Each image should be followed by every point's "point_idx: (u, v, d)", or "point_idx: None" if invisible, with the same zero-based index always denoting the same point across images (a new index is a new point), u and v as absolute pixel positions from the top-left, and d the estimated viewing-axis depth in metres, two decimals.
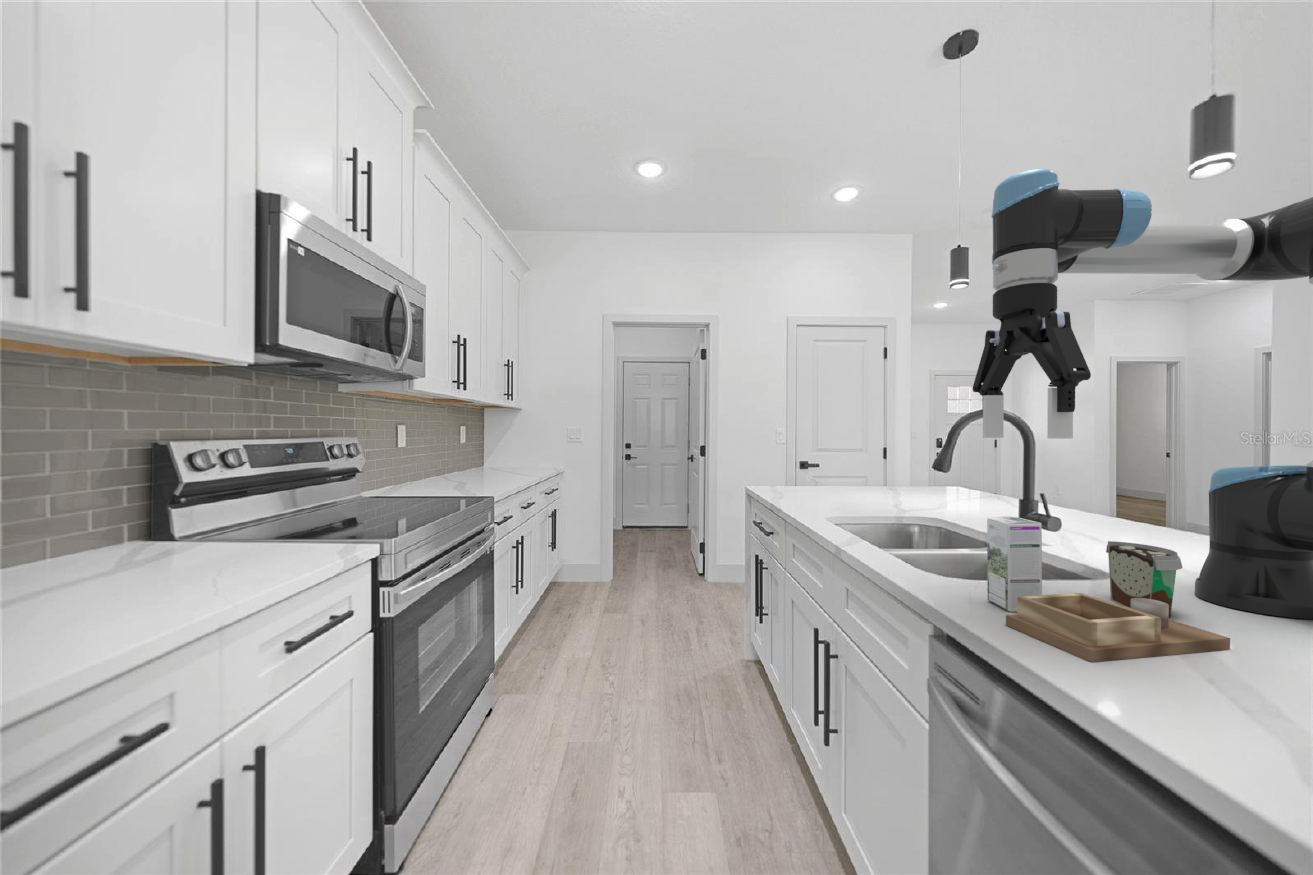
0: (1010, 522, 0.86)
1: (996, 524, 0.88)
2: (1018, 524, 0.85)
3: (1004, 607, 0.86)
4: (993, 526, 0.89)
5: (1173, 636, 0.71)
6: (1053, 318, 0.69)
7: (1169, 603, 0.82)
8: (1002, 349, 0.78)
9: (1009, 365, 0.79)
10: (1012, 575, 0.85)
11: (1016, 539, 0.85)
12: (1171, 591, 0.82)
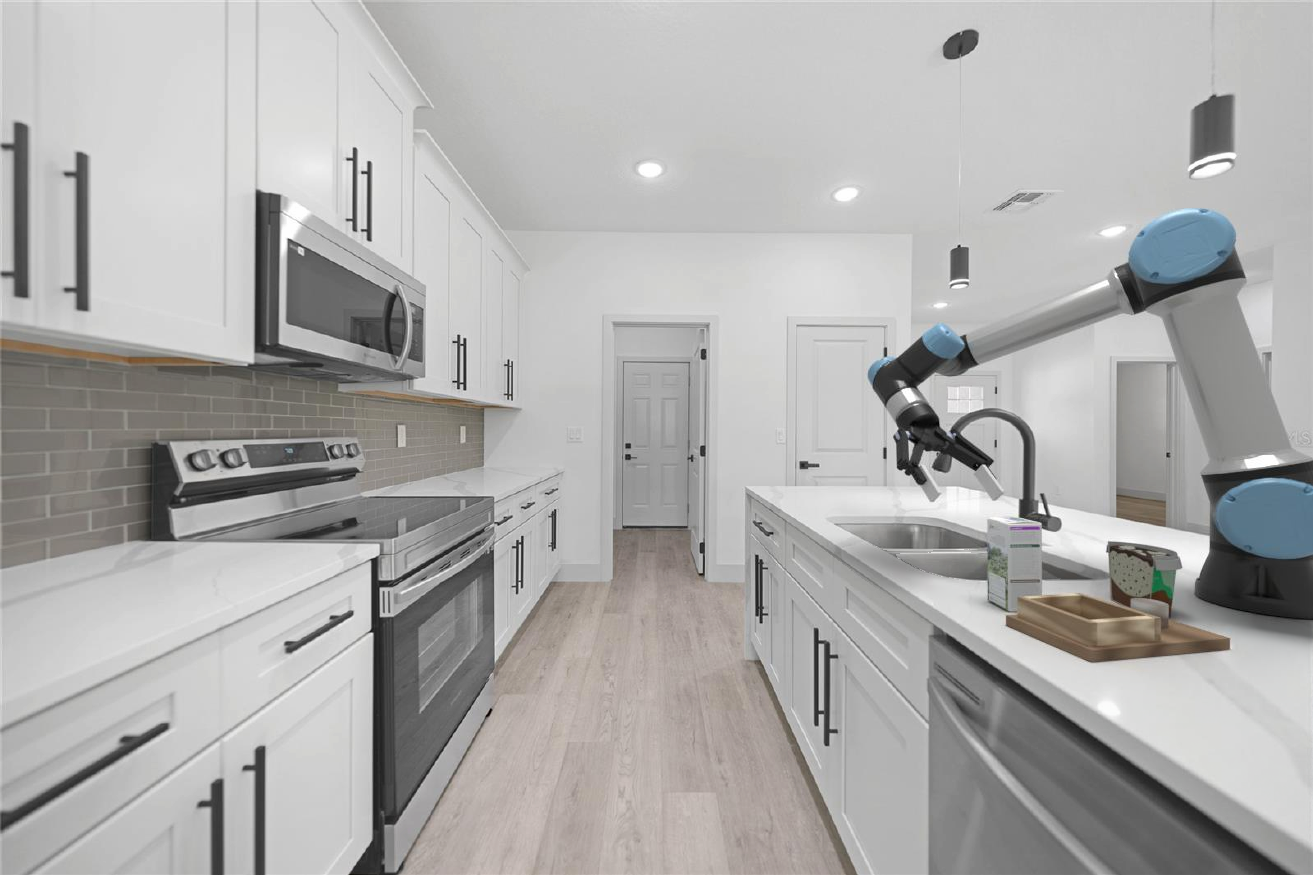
0: (1010, 522, 0.86)
1: (996, 524, 0.88)
2: (1018, 524, 0.85)
3: (1004, 607, 0.86)
4: (993, 526, 0.89)
5: (1173, 636, 0.71)
6: (894, 438, 1.06)
7: (1169, 603, 0.82)
8: None
9: (956, 450, 1.05)
10: (1012, 575, 0.85)
11: (1017, 539, 0.85)
12: (1171, 591, 0.82)
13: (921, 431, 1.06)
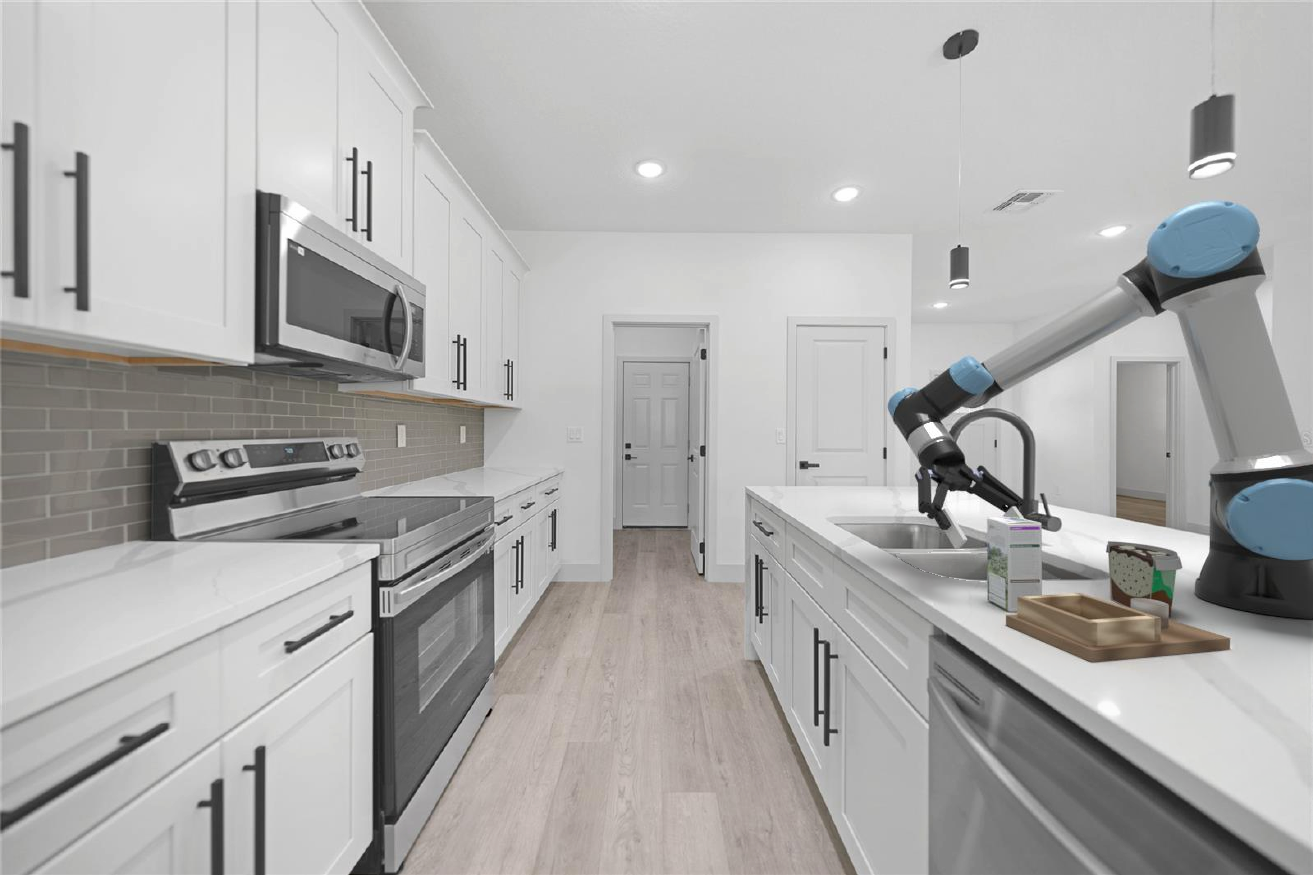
0: (1010, 522, 0.86)
1: (996, 524, 0.88)
2: (1018, 524, 0.85)
3: (1004, 607, 0.86)
4: (993, 526, 0.89)
5: (1173, 636, 0.71)
6: (916, 477, 1.01)
7: (1169, 603, 0.82)
8: None
9: (984, 490, 0.98)
10: (1012, 575, 0.85)
11: (1016, 539, 0.85)
12: (1171, 591, 0.82)
13: (945, 470, 1.00)
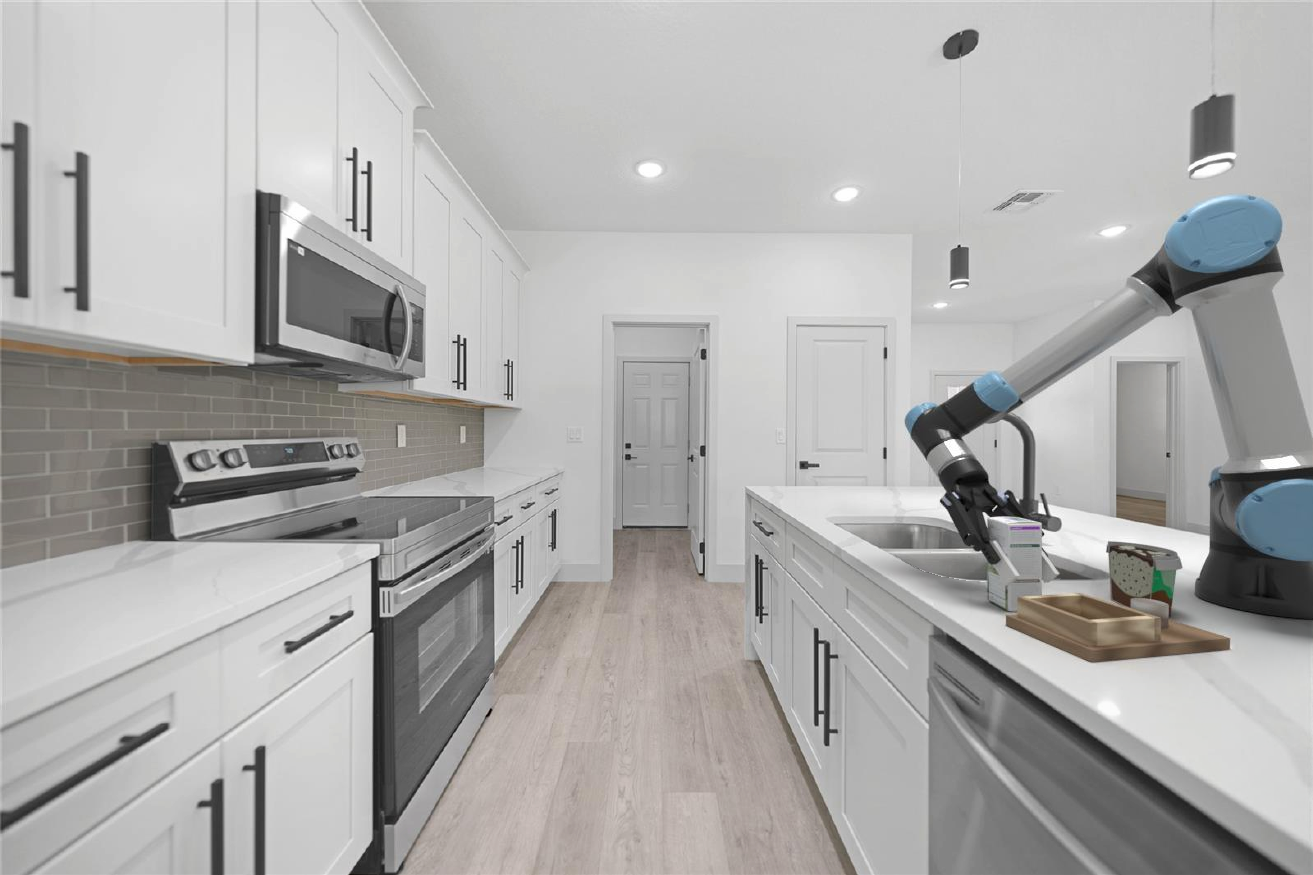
0: (1010, 522, 0.86)
1: (997, 524, 0.88)
2: (1018, 524, 0.85)
3: (1004, 607, 0.86)
4: (993, 526, 0.89)
5: (1173, 636, 0.71)
6: (943, 504, 0.95)
7: (1169, 603, 0.82)
8: None
9: (1004, 515, 0.93)
10: None
11: (1017, 539, 0.85)
12: (1171, 591, 0.82)
13: (966, 488, 0.96)
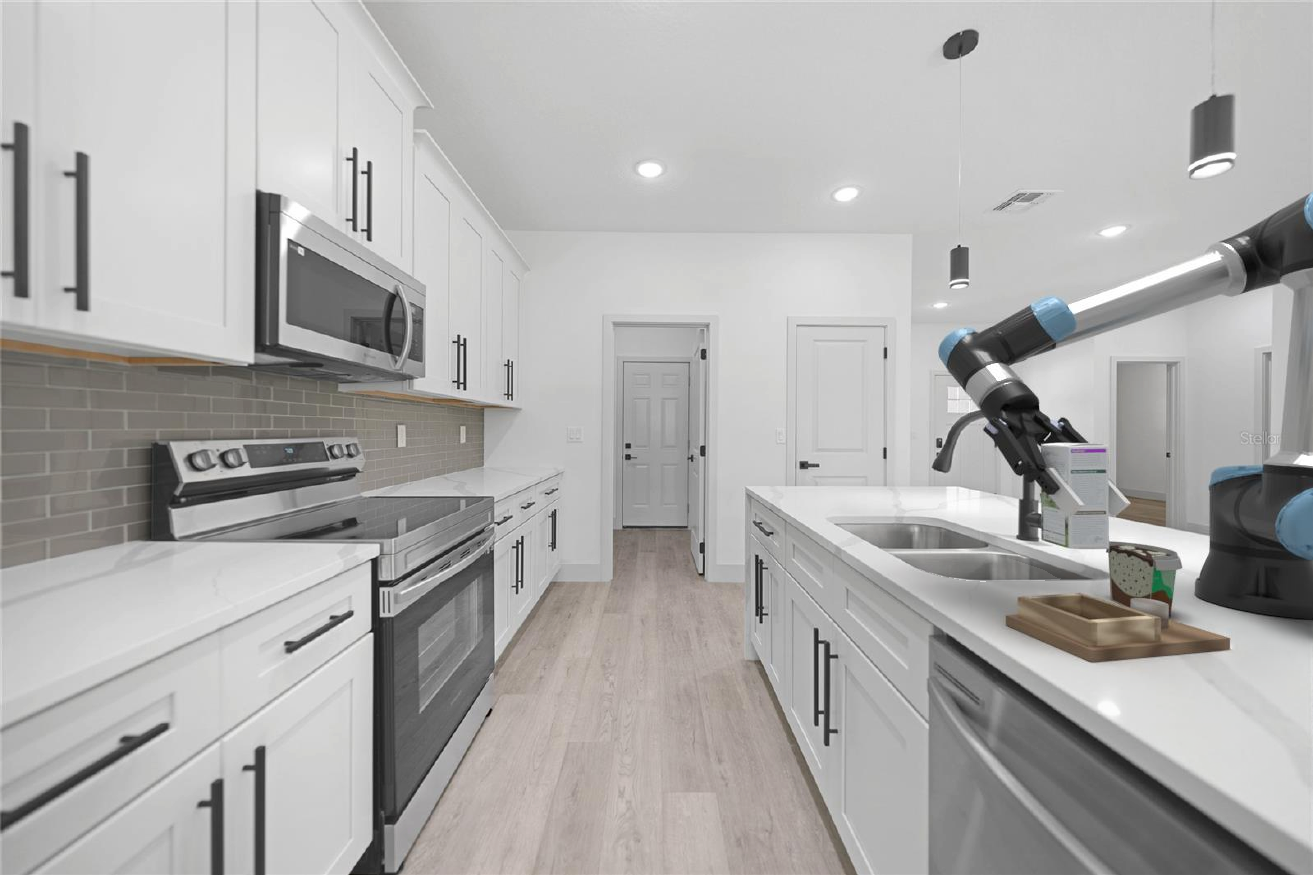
0: (1071, 444, 0.73)
1: (1053, 449, 0.76)
2: (1081, 446, 0.73)
3: (1063, 544, 0.74)
4: (1049, 452, 0.76)
5: (1173, 636, 0.71)
6: (987, 432, 0.83)
7: (1169, 603, 0.82)
8: None
9: None
10: None
11: (1079, 463, 0.73)
12: (1171, 591, 0.82)
13: (1014, 415, 0.83)
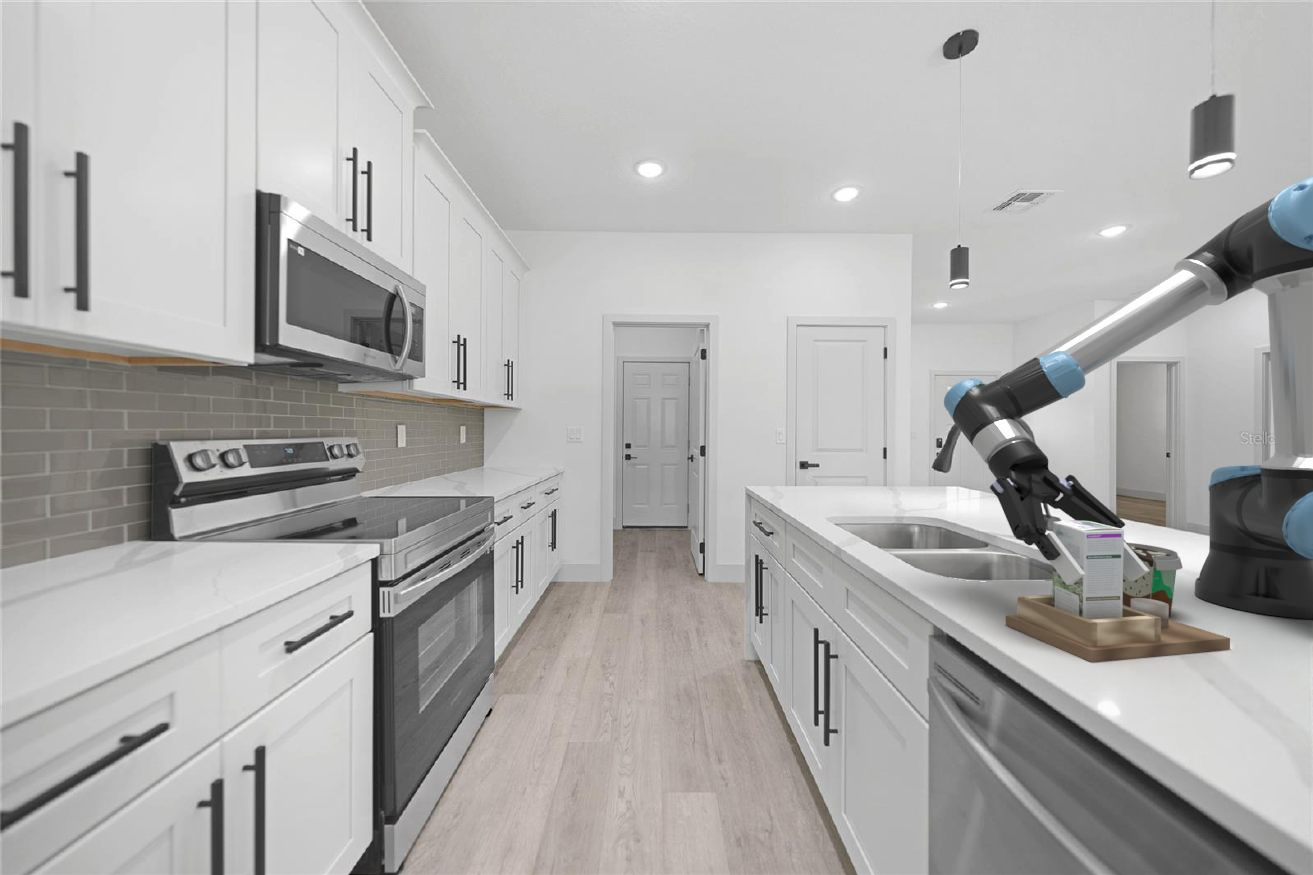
0: (1086, 529, 0.71)
1: (1067, 530, 0.74)
2: (1096, 531, 0.71)
3: None
4: (1062, 532, 0.75)
5: (1173, 636, 0.71)
6: (993, 490, 0.81)
7: (1169, 603, 0.82)
8: None
9: (1073, 505, 0.79)
10: (1088, 591, 0.71)
11: (1094, 549, 0.71)
12: (1171, 591, 0.82)
13: (1025, 476, 0.82)
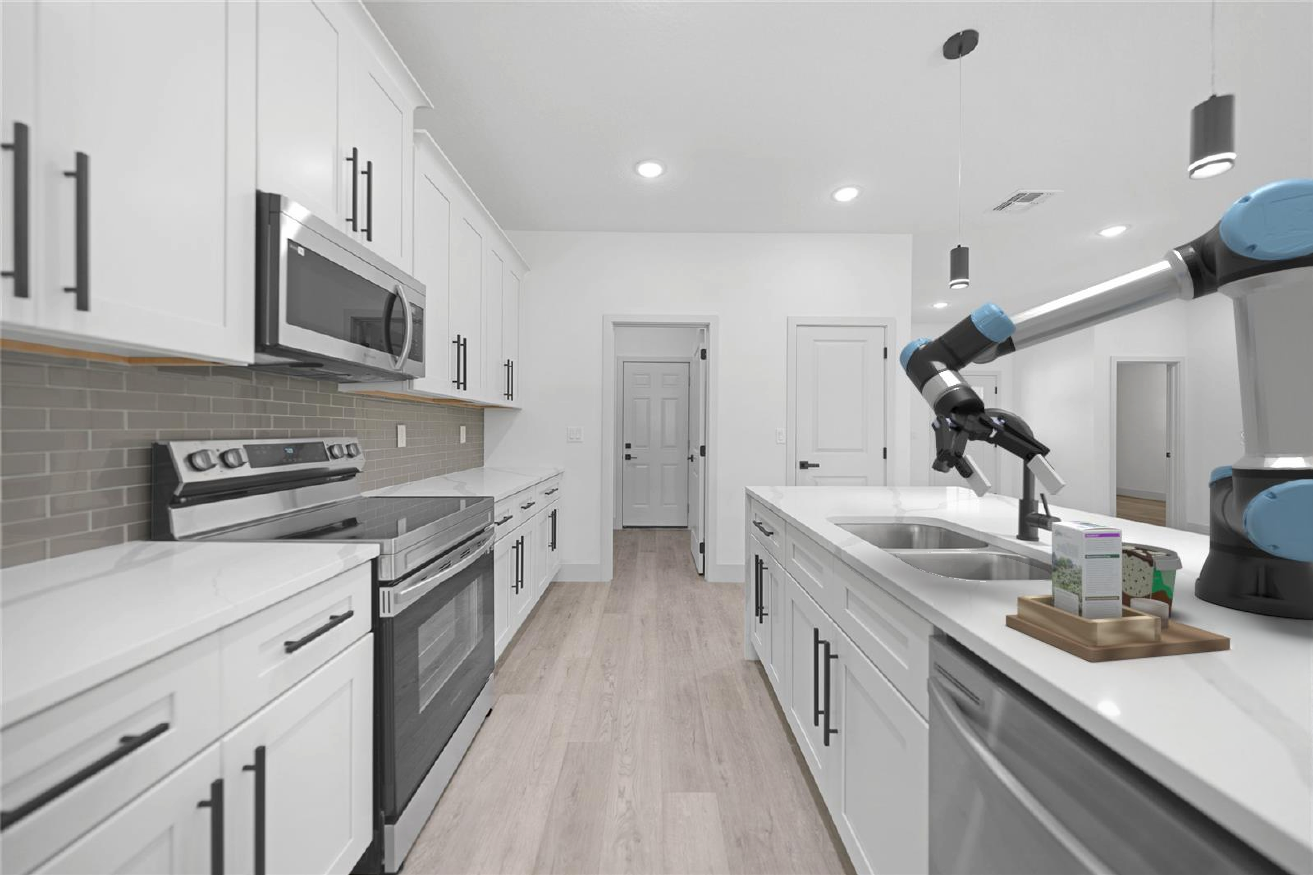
0: (1084, 528, 0.72)
1: (1066, 530, 0.74)
2: (1095, 530, 0.71)
3: None
4: (1061, 533, 0.75)
5: (1173, 636, 0.71)
6: (933, 426, 0.94)
7: (1169, 603, 0.82)
8: None
9: (1006, 439, 0.92)
10: (1087, 591, 0.71)
11: (1093, 548, 0.71)
12: (1171, 591, 0.82)
13: (964, 418, 0.94)
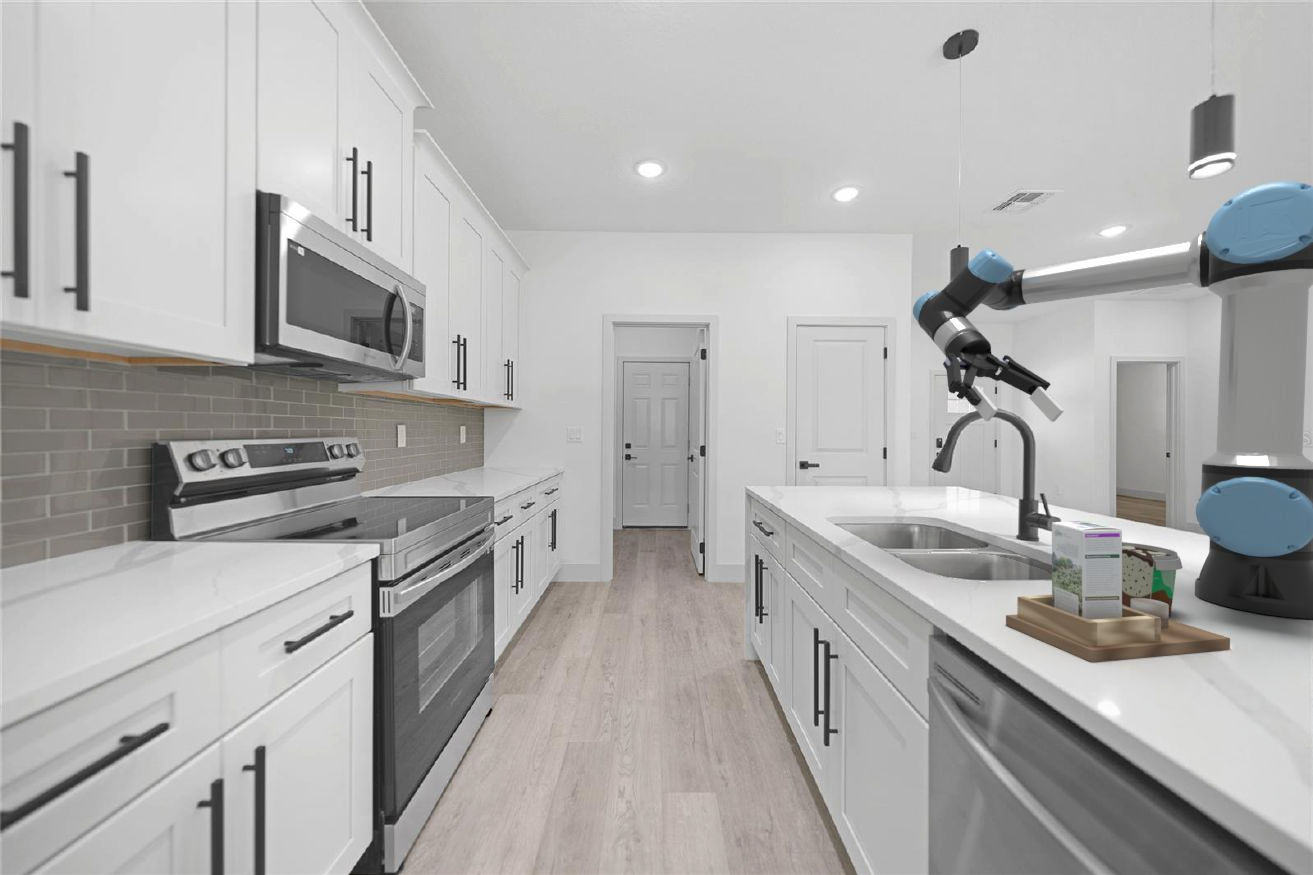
0: (1084, 528, 0.72)
1: (1066, 530, 0.74)
2: (1095, 530, 0.71)
3: None
4: (1061, 533, 0.75)
5: (1173, 636, 0.71)
6: (944, 365, 1.05)
7: (1169, 603, 0.82)
8: None
9: (1010, 375, 1.02)
10: (1087, 591, 0.71)
11: (1093, 548, 0.71)
12: (1171, 591, 0.82)
13: (972, 357, 1.04)
